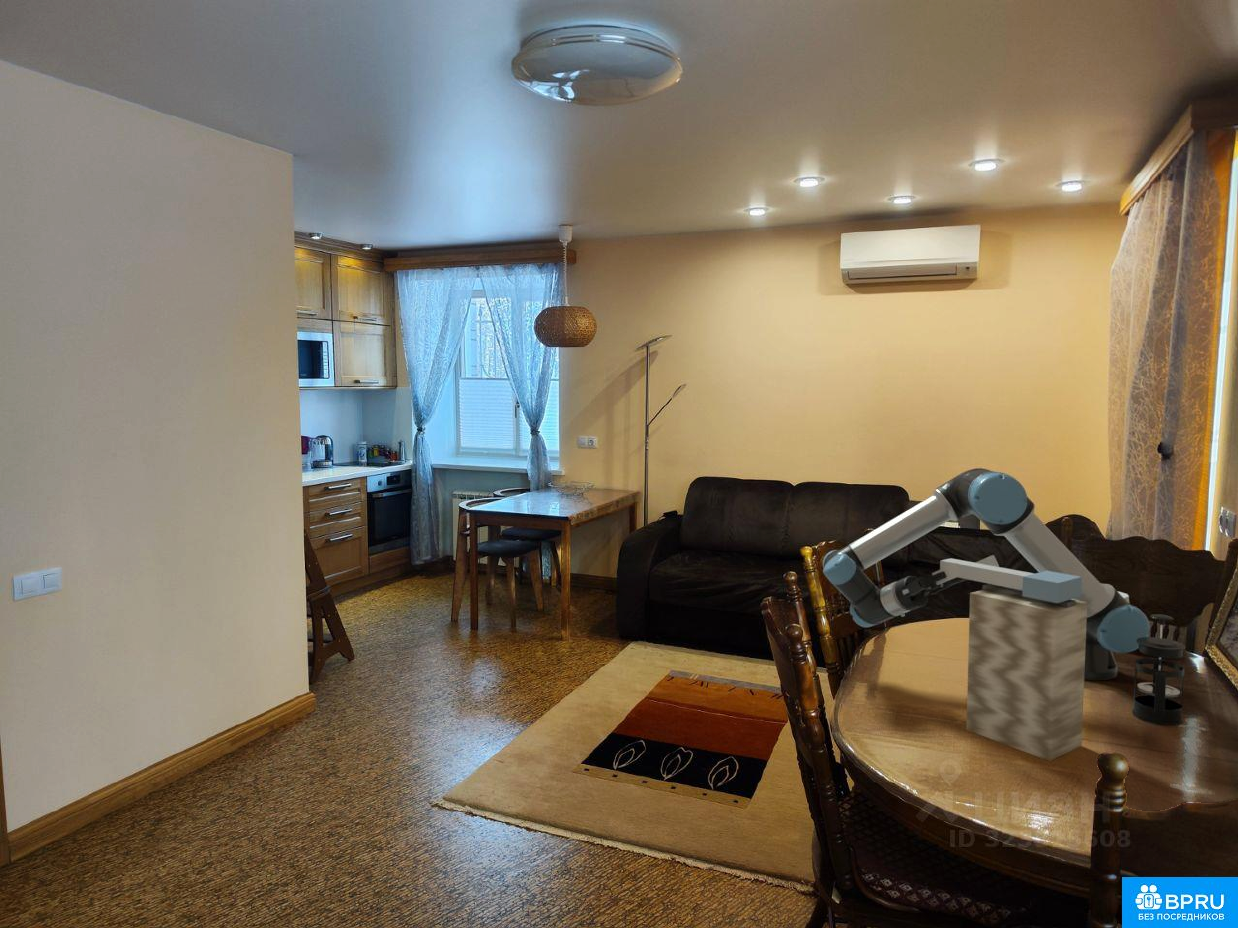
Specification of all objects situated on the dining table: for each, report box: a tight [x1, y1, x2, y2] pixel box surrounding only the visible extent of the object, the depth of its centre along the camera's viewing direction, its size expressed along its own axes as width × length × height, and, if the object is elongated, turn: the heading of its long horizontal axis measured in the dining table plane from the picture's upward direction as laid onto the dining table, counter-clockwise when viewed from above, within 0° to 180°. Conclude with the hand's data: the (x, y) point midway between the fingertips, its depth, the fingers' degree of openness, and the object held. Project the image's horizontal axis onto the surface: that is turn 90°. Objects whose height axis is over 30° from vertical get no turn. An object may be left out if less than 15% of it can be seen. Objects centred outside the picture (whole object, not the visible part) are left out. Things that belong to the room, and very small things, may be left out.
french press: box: [1131, 613, 1186, 727], centre depth 176 cm, size 12×9×23 cm
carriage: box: [939, 557, 1082, 603], centre depth 169 cm, size 28×9×4 cm, turn 33°
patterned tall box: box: [966, 583, 1087, 762], centre depth 166 cm, size 18×12×31 cm, turn 33°
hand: (977, 564), depth 174 cm, fingers open, 13 cm apart
